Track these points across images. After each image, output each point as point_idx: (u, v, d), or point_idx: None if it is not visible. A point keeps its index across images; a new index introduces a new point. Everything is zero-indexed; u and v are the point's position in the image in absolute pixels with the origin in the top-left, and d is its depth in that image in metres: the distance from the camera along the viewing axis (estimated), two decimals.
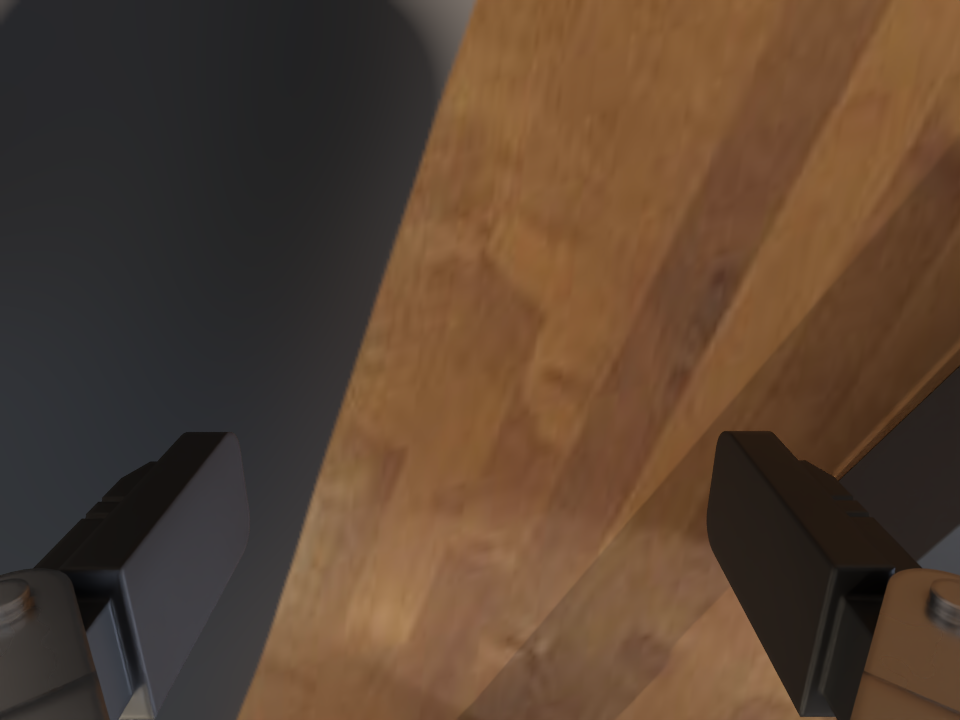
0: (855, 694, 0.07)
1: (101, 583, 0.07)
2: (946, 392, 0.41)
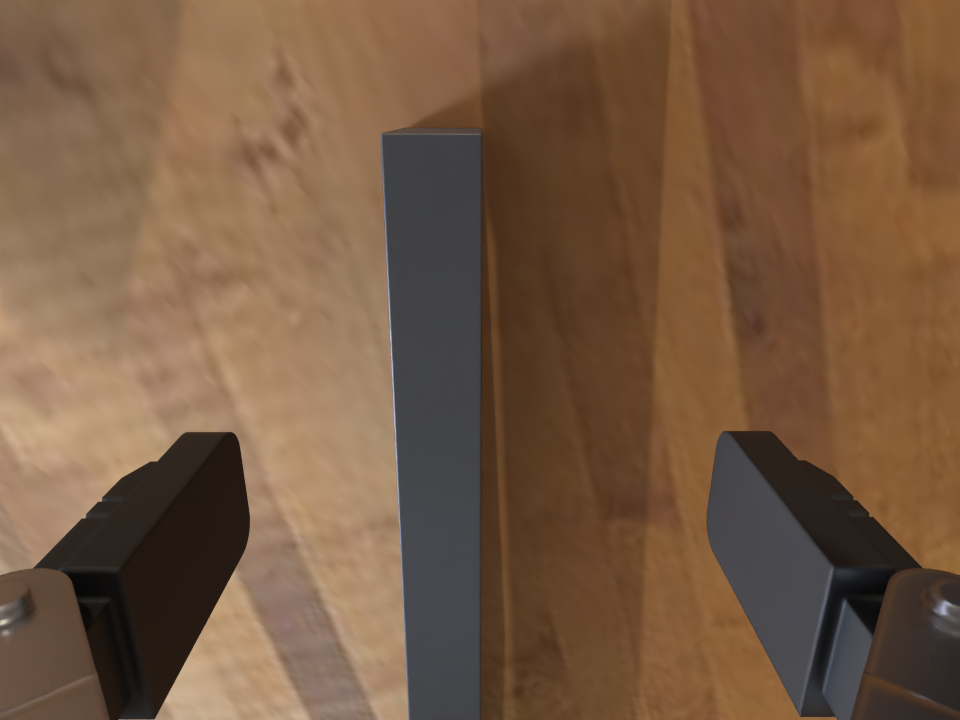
0: (855, 694, 0.07)
1: (101, 583, 0.07)
2: None
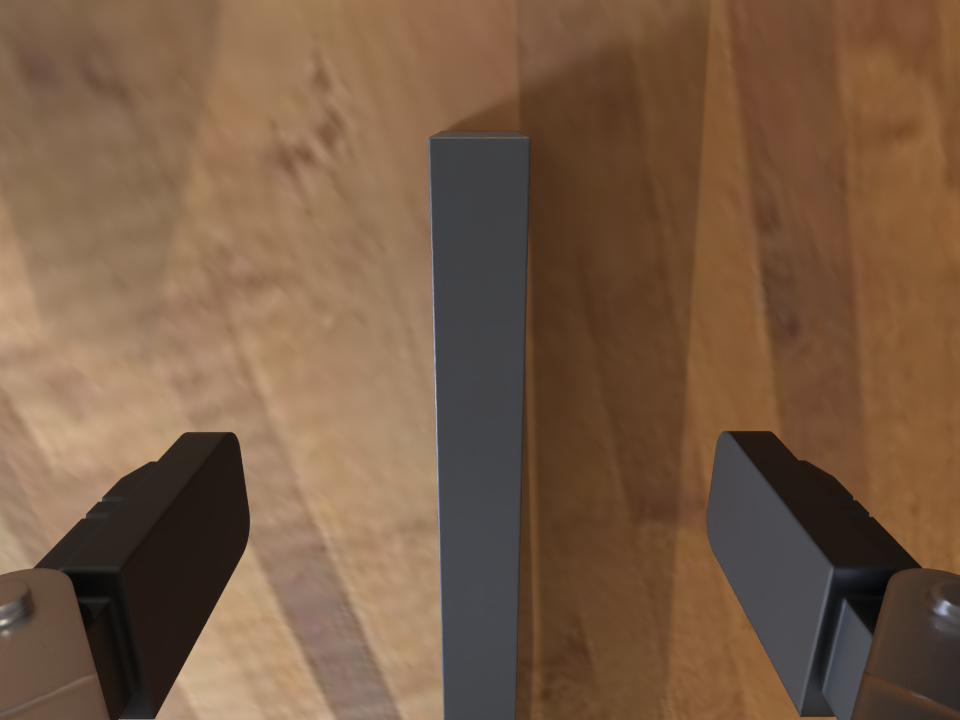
0: (855, 694, 0.07)
1: (101, 583, 0.07)
2: None
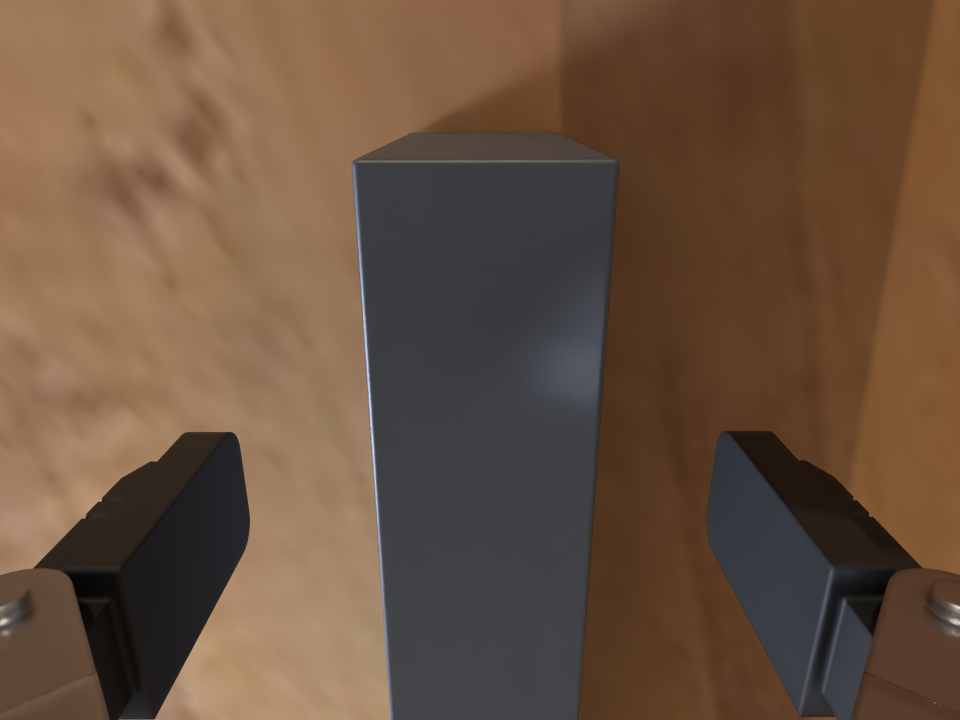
0: (855, 694, 0.07)
1: (101, 583, 0.07)
2: None
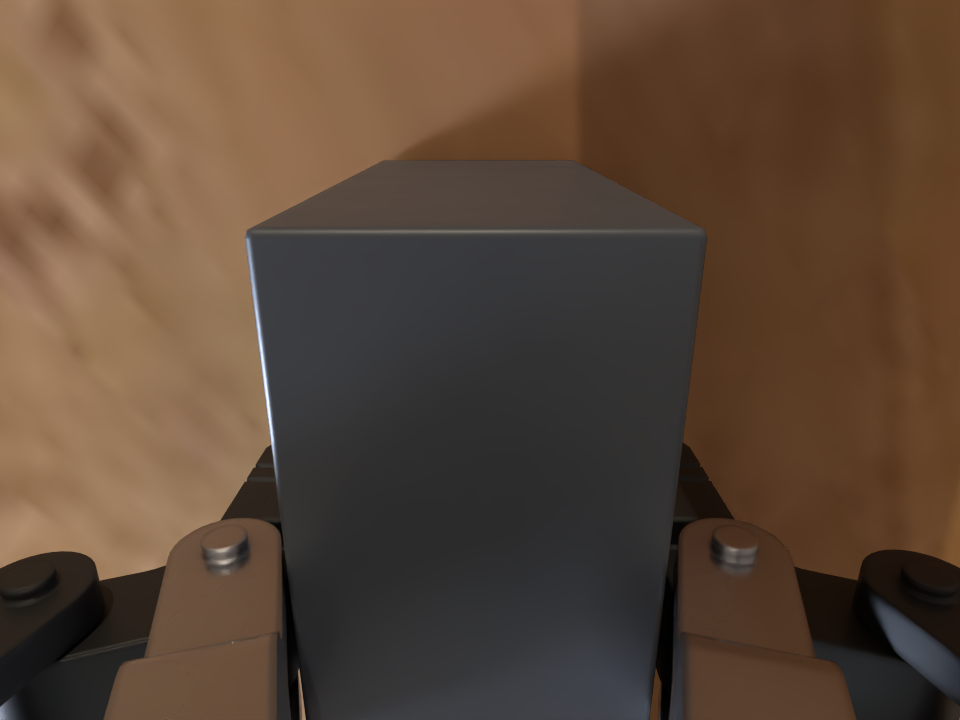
0: (664, 645, 0.08)
1: None
2: None
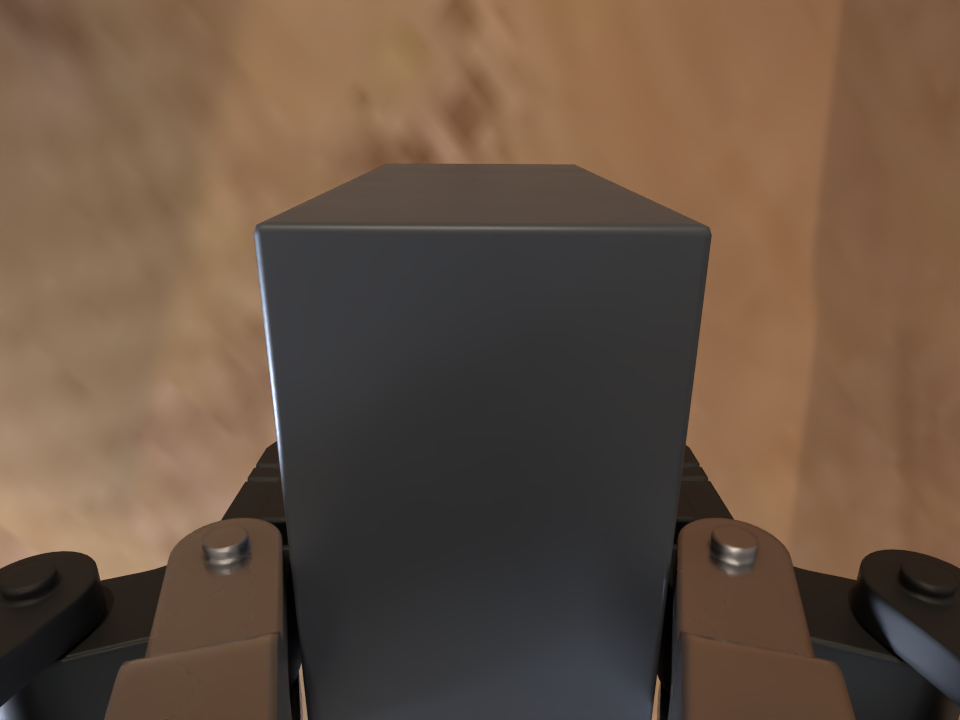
0: (663, 645, 0.08)
1: None
2: None
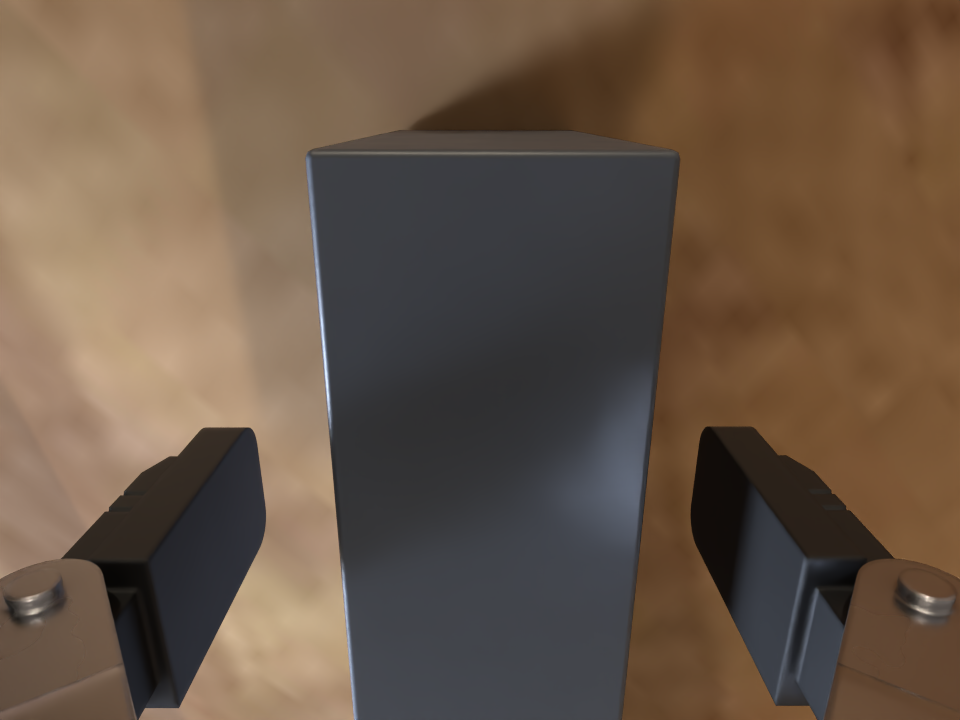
0: (828, 684, 0.07)
1: (129, 573, 0.07)
2: None
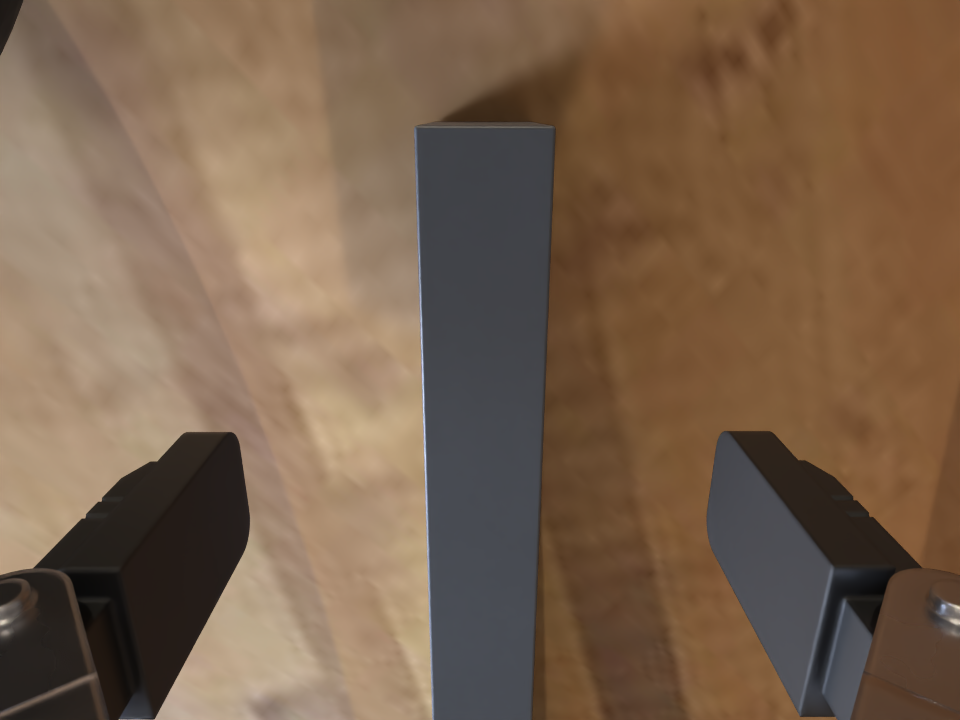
0: (855, 694, 0.07)
1: (101, 583, 0.07)
2: None
